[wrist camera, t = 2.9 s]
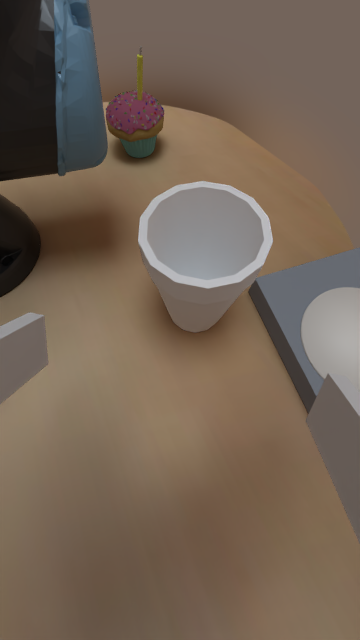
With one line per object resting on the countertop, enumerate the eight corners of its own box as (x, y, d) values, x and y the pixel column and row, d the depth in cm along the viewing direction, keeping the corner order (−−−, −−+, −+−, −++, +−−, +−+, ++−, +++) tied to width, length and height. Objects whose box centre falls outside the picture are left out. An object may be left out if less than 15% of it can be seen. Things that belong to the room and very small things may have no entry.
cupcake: (169, 134, 41) (164, 30, 30) (161, 169, 38) (153, 66, 27) (119, 130, 42) (97, 26, 31) (108, 164, 39) (78, 61, 27)
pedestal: (248, 291, 30) (256, 276, 27) (346, 261, 31) (364, 244, 28) (336, 470, 23) (360, 478, 20) (458, 419, 24) (497, 419, 21)
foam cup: (215, 359, 27) (243, 310, 15) (141, 325, 28) (113, 256, 16) (244, 290, 30) (288, 204, 18) (177, 263, 31) (175, 167, 19)
